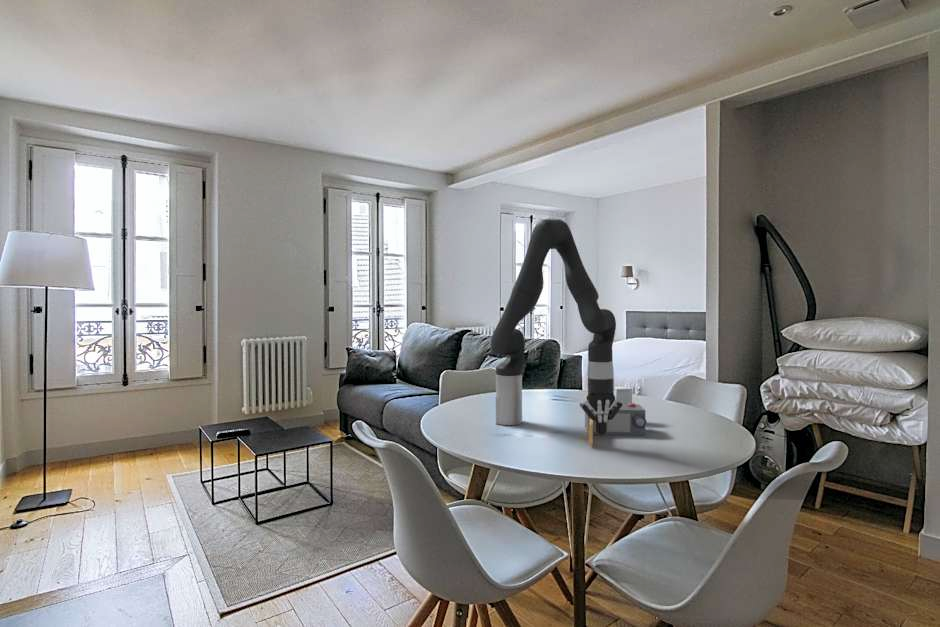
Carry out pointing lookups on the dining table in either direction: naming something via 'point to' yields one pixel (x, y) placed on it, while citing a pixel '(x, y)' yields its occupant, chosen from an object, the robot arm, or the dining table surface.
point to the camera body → (623, 420)
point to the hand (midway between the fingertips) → (601, 434)
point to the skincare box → (623, 394)
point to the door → (590, 431)
